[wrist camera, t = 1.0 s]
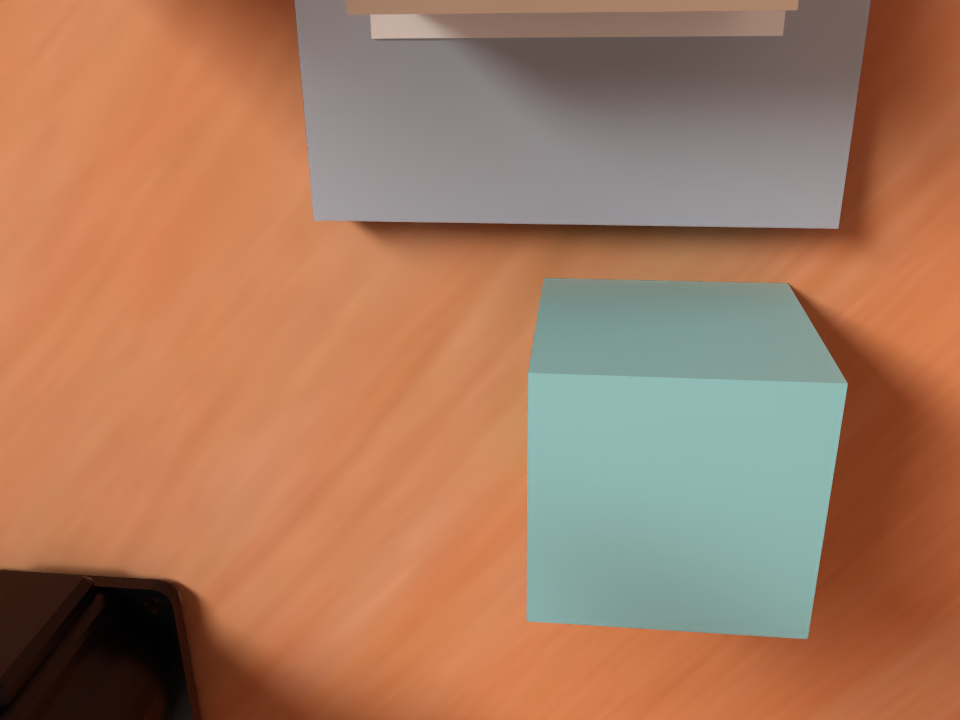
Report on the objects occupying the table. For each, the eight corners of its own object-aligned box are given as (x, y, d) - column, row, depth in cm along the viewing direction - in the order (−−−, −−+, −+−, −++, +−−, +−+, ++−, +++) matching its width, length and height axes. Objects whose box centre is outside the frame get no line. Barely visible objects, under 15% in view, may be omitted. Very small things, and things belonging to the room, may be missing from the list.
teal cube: (761, 491, 21) (808, 639, 16) (541, 481, 21) (526, 621, 17) (787, 281, 19) (847, 383, 14) (544, 276, 20) (528, 372, 15)
